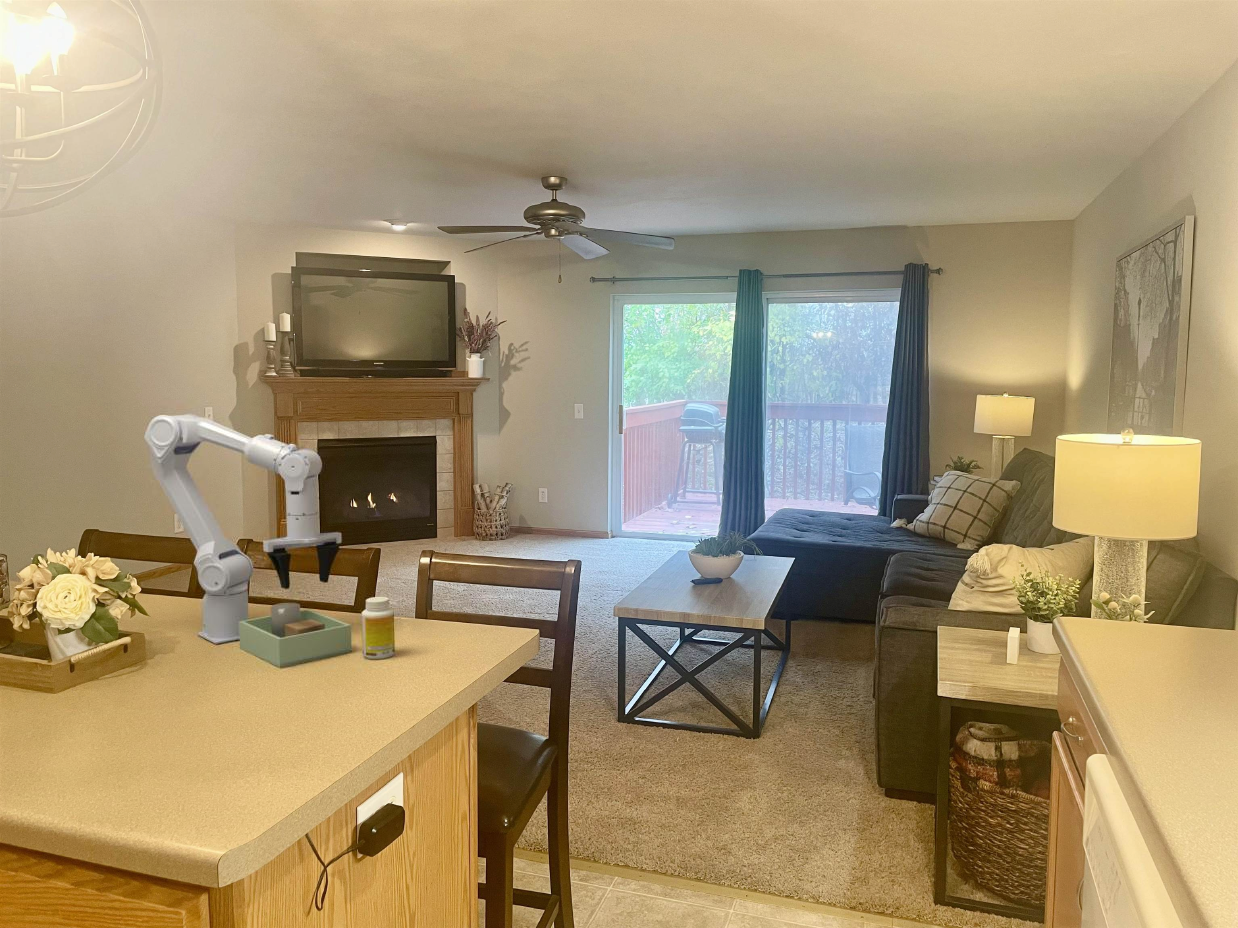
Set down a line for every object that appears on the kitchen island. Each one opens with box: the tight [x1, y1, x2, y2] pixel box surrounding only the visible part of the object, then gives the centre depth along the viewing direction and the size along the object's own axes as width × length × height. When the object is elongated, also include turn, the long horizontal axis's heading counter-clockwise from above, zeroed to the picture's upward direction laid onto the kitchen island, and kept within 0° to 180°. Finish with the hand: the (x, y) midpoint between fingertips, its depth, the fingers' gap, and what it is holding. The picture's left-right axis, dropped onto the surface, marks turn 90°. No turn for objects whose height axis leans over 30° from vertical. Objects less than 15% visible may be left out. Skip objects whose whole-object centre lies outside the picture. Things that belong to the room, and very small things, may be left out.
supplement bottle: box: [360, 596, 396, 660], centre depth 158 cm, size 6×6×10 cm
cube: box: [285, 619, 325, 637], centre depth 159 cm, size 5×5×5 cm
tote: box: [239, 608, 353, 669], centre depth 162 cm, size 17×13×5 cm
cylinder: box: [270, 602, 301, 638], centre depth 164 cm, size 5×5×7 cm
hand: (304, 584), depth 169 cm, fingers open, 7 cm apart
